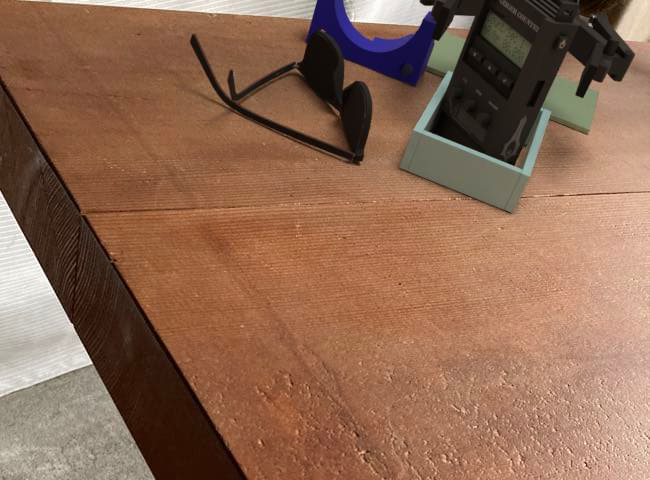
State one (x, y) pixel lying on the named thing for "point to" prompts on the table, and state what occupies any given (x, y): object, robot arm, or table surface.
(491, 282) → the table surface
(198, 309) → the table surface
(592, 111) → the mat
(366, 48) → the blue curved cradle stand
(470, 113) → the geiger counter
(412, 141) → the holder
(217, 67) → the table surface
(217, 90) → the sunglasses
